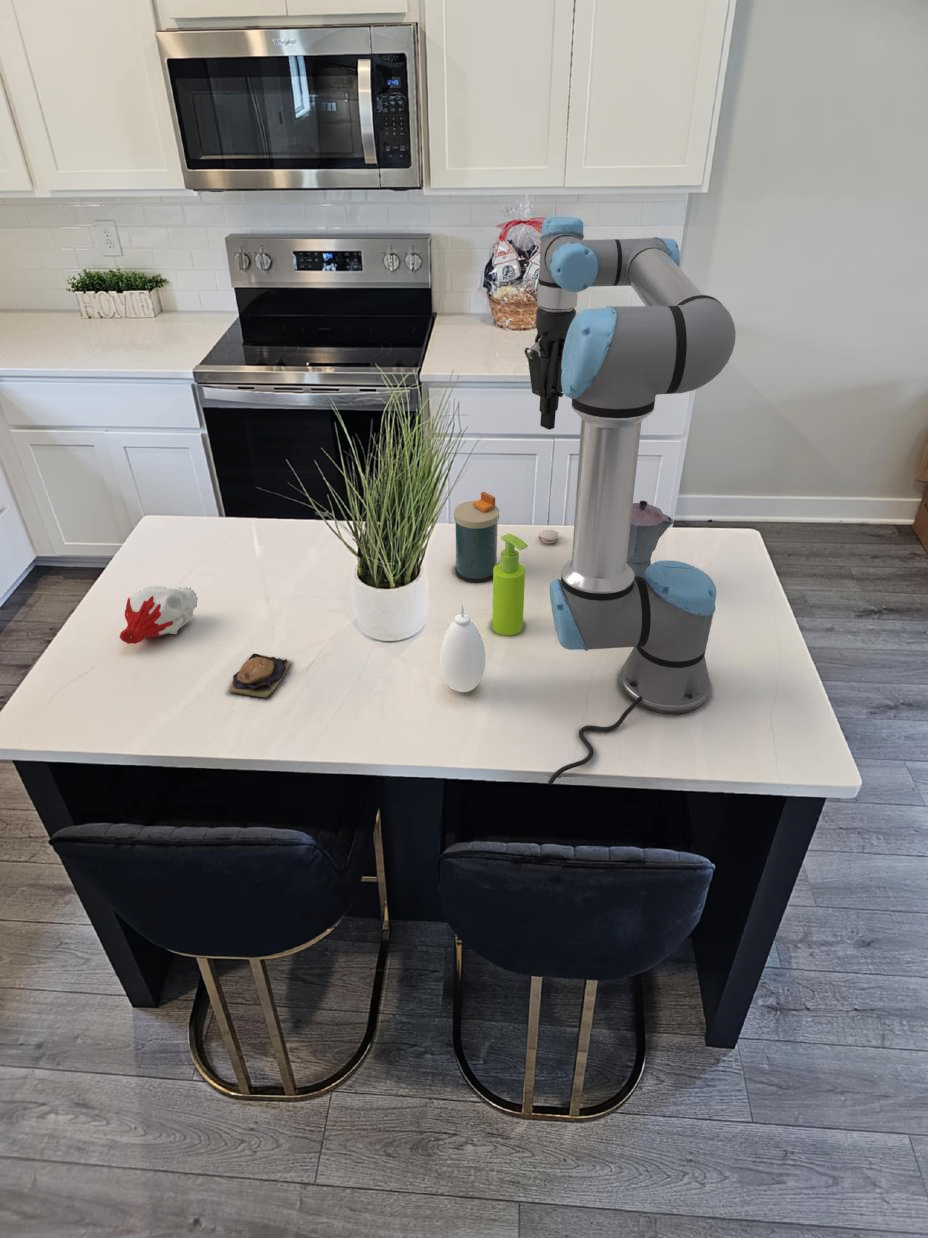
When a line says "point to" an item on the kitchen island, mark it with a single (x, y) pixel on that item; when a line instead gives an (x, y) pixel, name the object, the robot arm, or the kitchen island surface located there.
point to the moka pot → (645, 535)
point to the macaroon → (548, 536)
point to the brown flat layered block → (259, 676)
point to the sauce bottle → (462, 654)
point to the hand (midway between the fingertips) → (547, 426)
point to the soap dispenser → (509, 588)
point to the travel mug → (475, 542)
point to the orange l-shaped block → (485, 502)
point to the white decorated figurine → (157, 612)
